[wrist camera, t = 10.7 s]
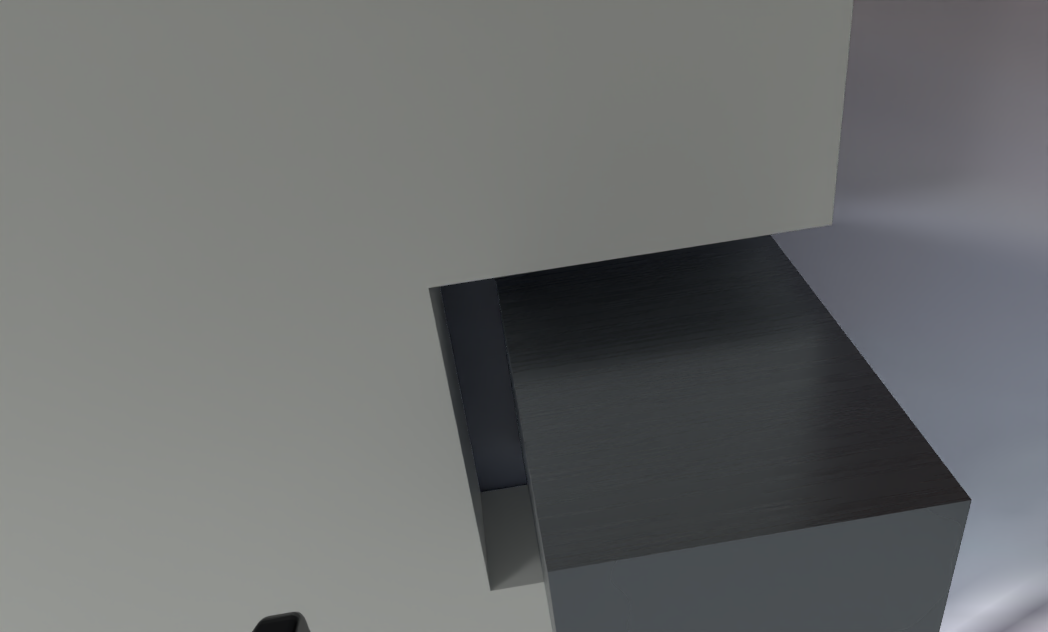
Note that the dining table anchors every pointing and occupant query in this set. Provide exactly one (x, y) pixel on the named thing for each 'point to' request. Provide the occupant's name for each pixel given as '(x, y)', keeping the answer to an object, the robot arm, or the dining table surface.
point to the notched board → (338, 276)
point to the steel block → (719, 453)
